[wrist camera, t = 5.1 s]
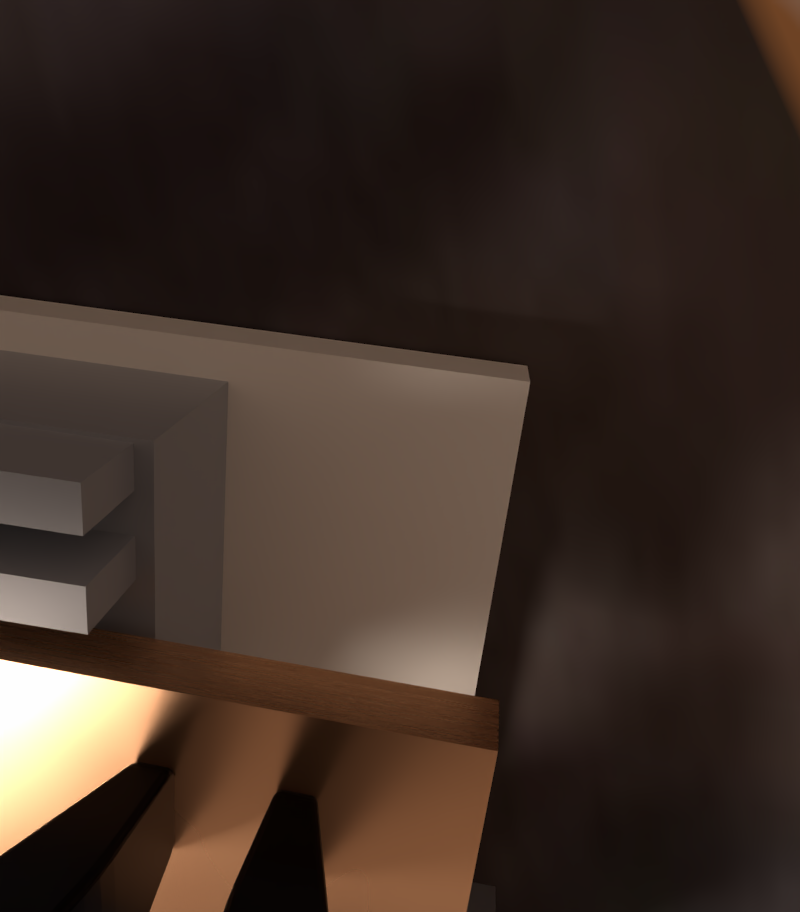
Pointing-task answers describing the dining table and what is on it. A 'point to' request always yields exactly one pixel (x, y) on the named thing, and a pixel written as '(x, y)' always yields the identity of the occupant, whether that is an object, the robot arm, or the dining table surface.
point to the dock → (253, 490)
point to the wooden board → (252, 761)
